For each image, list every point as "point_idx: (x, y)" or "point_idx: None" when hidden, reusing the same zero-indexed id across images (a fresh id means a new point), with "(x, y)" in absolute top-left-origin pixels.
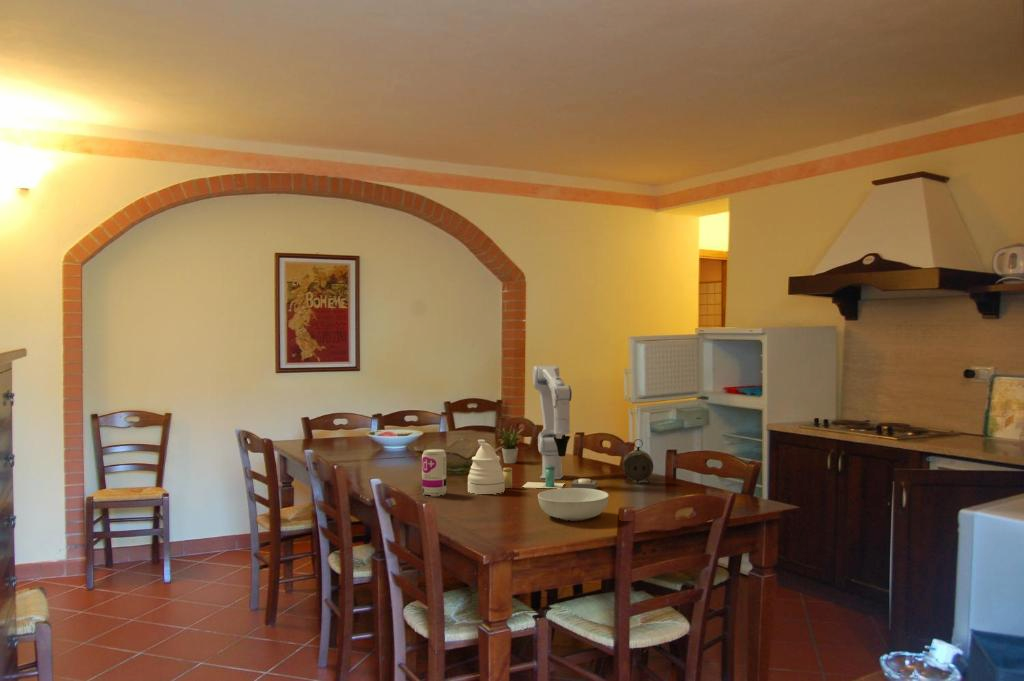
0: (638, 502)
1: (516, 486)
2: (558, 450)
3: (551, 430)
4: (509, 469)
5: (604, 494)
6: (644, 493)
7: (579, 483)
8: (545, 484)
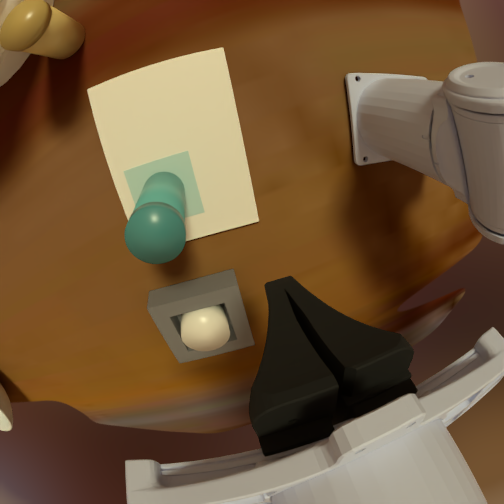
0: (129, 421)
1: (114, 47)
2: (270, 313)
3: (417, 418)
4: (5, 49)
5: (8, 425)
6: (218, 411)
7: (164, 328)
8: (149, 178)
